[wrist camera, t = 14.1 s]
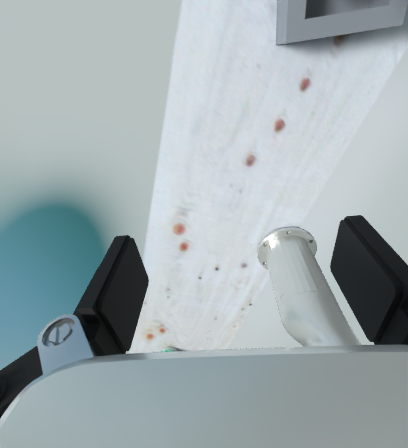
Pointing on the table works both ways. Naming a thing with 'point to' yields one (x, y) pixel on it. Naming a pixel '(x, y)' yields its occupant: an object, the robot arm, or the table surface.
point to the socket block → (335, 17)
